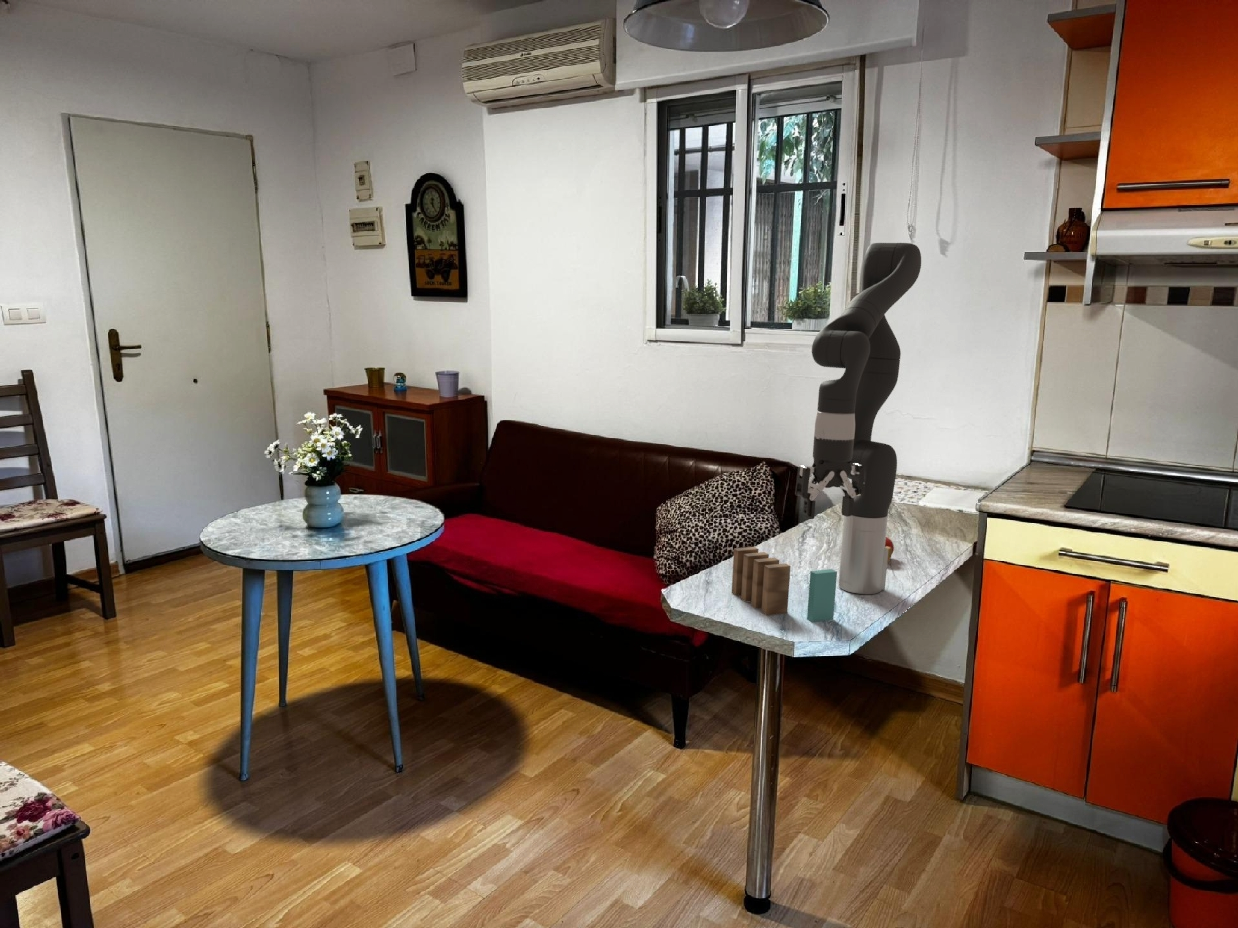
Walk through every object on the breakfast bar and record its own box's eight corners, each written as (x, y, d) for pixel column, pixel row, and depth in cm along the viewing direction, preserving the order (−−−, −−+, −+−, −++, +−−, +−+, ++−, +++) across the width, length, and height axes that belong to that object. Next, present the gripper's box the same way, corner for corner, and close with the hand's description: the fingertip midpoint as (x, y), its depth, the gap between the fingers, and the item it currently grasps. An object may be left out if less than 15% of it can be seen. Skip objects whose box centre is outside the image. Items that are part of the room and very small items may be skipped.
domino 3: (771, 603, 179) (774, 557, 178) (776, 606, 178) (779, 560, 176) (751, 605, 178) (753, 559, 176) (755, 608, 176) (758, 561, 174)
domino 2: (761, 596, 183) (764, 552, 181) (765, 599, 182) (768, 554, 180) (741, 599, 181) (743, 553, 180) (745, 601, 180) (747, 556, 178)
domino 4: (782, 610, 176) (785, 563, 174) (787, 613, 174) (790, 565, 172) (761, 612, 174) (764, 565, 172) (766, 615, 172) (769, 567, 170)
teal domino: (827, 616, 173) (831, 568, 171) (833, 619, 171) (837, 571, 169) (806, 618, 171) (810, 571, 169) (812, 622, 169) (815, 573, 167)
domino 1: (751, 590, 187) (754, 546, 185) (755, 593, 185) (758, 549, 184) (731, 592, 185) (734, 548, 183) (735, 595, 184) (738, 550, 182)
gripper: (853, 431, 170) (846, 510, 173) (791, 433, 165) (786, 514, 168) (877, 437, 163) (869, 519, 166) (813, 439, 158) (807, 523, 161)
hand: (827, 517), depth 167 cm, fingers open, 8 cm apart
